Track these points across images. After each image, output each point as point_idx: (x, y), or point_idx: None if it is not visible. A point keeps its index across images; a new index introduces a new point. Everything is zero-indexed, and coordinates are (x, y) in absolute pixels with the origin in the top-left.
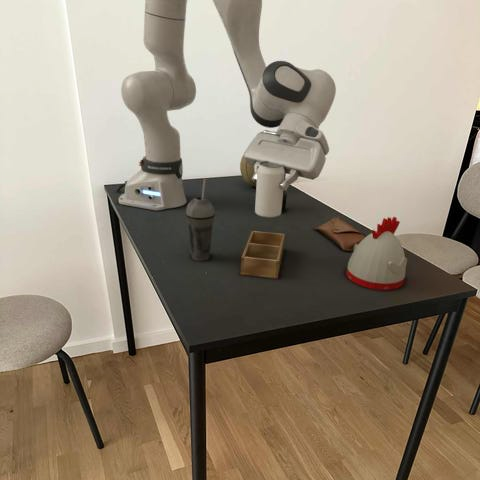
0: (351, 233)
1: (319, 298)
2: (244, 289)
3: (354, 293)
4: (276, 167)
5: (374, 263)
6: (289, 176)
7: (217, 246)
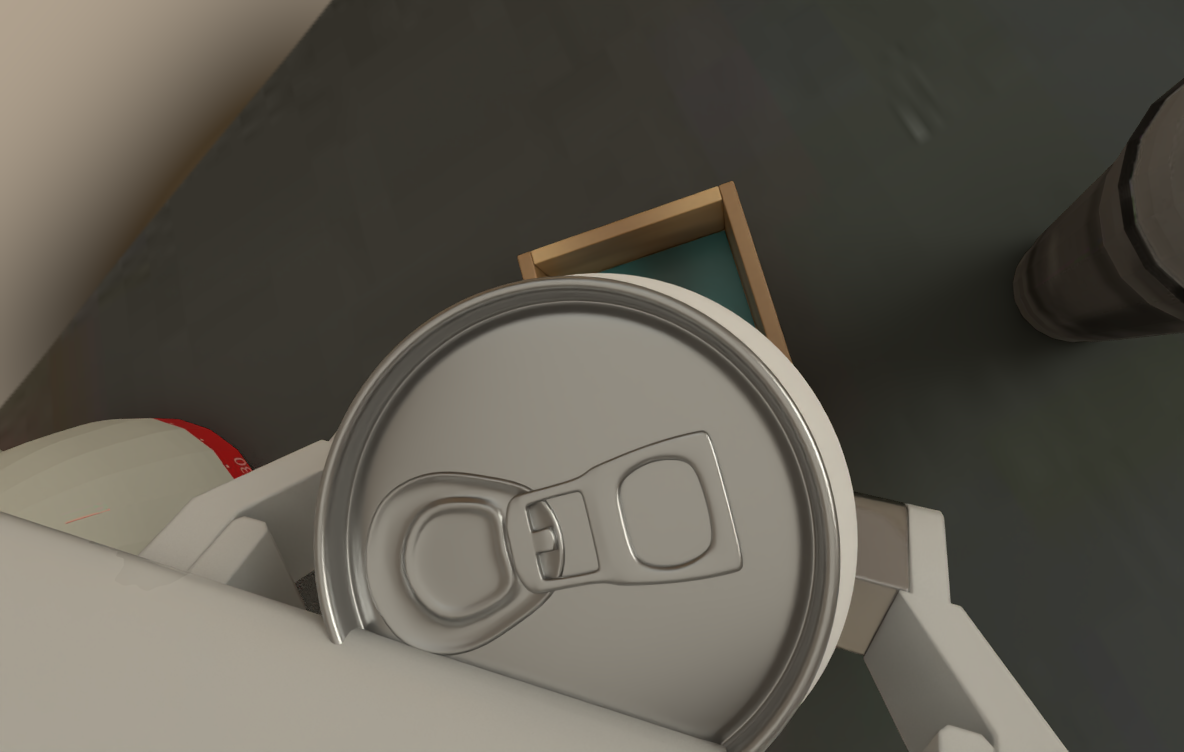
0: None
1: (324, 210)
2: (646, 91)
3: (208, 336)
4: (392, 368)
5: (54, 438)
6: (277, 484)
7: (1071, 498)
